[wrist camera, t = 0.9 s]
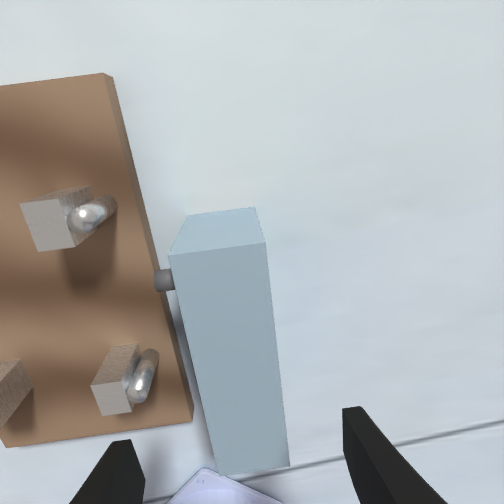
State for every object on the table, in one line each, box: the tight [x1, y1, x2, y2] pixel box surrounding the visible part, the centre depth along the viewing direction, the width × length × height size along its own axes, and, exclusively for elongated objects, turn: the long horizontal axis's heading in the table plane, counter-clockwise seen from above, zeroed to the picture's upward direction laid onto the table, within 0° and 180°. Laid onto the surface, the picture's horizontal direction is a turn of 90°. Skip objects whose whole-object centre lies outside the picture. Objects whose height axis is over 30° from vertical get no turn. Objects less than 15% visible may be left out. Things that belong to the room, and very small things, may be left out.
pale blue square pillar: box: [153, 207, 290, 476], centre depth 17 cm, size 12×5×6 cm, turn 8°
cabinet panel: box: [0, 73, 194, 448], centre depth 18 cm, size 20×12×1 cm, turn 8°
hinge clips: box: [0, 186, 159, 429], centre depth 16 cm, size 11×9×3 cm
